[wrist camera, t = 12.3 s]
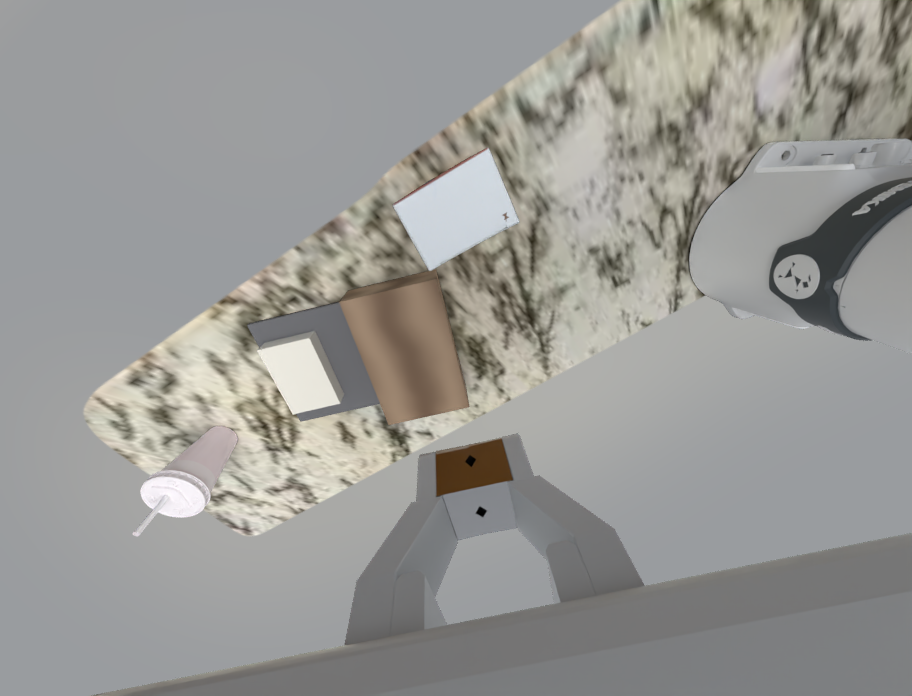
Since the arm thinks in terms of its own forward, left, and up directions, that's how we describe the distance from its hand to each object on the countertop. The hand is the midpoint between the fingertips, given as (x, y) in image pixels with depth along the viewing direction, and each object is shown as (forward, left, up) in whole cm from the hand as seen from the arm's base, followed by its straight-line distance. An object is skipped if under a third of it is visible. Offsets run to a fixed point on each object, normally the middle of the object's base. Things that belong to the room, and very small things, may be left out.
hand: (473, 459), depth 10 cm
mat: (+17, +9, -29) cm, 35 cm away
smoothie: (+34, +16, -29) cm, 48 cm away
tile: (+19, +9, -27) cm, 34 cm away
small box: (-2, -5, -29) cm, 30 cm away
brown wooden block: (+6, +9, -29) cm, 31 cm away
